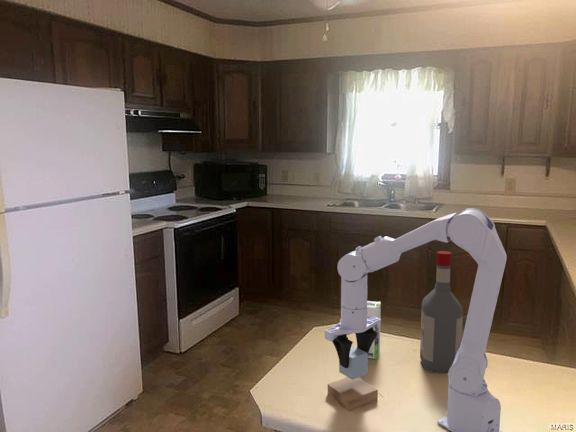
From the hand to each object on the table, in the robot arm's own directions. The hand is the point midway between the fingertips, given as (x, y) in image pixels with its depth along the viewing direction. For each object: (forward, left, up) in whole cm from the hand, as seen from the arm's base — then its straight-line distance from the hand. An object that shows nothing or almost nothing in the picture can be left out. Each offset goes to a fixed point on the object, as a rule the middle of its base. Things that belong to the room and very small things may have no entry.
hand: (353, 363), depth 104 cm
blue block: (0, 0, -2) cm, 2 cm away
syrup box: (+15, -18, -8) cm, 25 cm away
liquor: (0, -29, -8) cm, 30 cm away
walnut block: (0, 0, -9) cm, 9 cm away
